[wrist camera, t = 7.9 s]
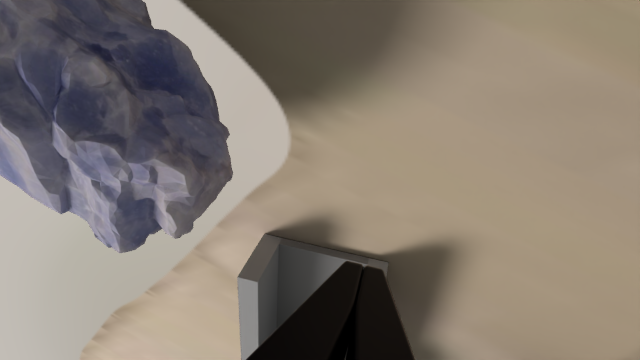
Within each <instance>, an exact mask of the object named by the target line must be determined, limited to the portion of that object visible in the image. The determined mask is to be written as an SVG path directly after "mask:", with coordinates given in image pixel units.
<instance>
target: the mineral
mask: <svg viewBox="0 0 640 360" xmlns="http://www.w3.org/2000/svg"><path fill="white" fill-rule="evenodd" d="M229 135H230V134H229V131H228V129H227V127H225V126H224V125H223V124H222V123H221V122H220V121H219V114H218V107H217V103H216V99H215V96H214V92H213V90H212V88H211V86H210V85H209V84H208V83H207V81H206V80H205V78H204V77H203V75H202V73H201V71H200V68H199V66H198V65H197V63H196V62H195V60H194V59H193V56H192V53H191V51H190V49H189V48H188V46H186V45H185V44H184V43H183V42H182V41H180V40H179V39H178V38H176V37H175V36H173V35H172V34H171V33H169V32H168V31H166V30H159V29H154V28H153V27H152V25H151V20H150V17H149V14H148V11H147V7H146V3H145V2H143V1H142V0H0V175H1V176H2V177H4V178H5V179H7V180H9V181H10V182H12V183H13V184H15V185H17V186H18V187H20V188H21V189H22V190H23V191H24V192H26V193H27V194H28V195H29V196H31V197H32V198H34V199H36V200H37V201H39V202H41V203H42V204H44V205H46V206H47V207H49V208H51V209H53V210H55V211H56V212H58V213H60V214H62V213H65V212H67V211H70V212H72V213H74V214H77V215H78V216H80V217H81V218H83V219H84V220H86V221H87V222H88V224H89V226H90V227H91V229H92V231H93V232H94V235H95V237H96V238H97V239H99V240H100V241H101V242H103V243H104V244H105V245H106V246H107V247H112V248H113V249H115V250H116V251H117V252H118V253H123V252H128V251H132V250H135V249H137V248H138V247H140V246H141V245H143V244H144V243H145V241H146V238H147V237H148V235H149V234H155V233H156V232H158V231H159V230H161V229H163V230H164V231H165V233H166V234H168V235H170V236H172V237H173V238H175V239H176V238H180V237H181V236H182V235H184V234H186V233H189V232H190V231H191V230H192V229H193V222H194V221H195V220H196V219H197V218H199V217H200V216H201V215H202V214H203V213H204V211H205V210H206V209H207V208H208V207H209V205H210V204H211V203H212V202H213V201H214V200H215V199H216V198H217V195H218V194H219V193H220V191H221V190H222V188H223V187H224V186H225V184H226V183H227V182H228V181H230V180H231V178H232V175H233V171H232V168H231V160H230V155H229V152H228V148H227V147H228V146H227V143H226V140H227V138H228V136H229Z"/></svg>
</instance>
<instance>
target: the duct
mask: <svg viewBox="0 0 640 360" xmlns="http://www.w3.org/2000/svg"><path fill="white" fill-rule="evenodd" d="M345 261H351V262H356V263H360V264H362V265H363V267H365V266H366V265H369V266H373V267H377V268H381V269H382V270H383V271H384V273H385V276H386V277H387V270H388V263H389V262H384V261H380V260H376V259H371V258H367V257H363V256H358V255H354V254H349V253H345V252H341V251H336V250H332V249H328V248H323V247H319V246H315V245H310V244H306V243H302V242H297V241H293V240H289V239H284V238H280V237H276V236H271V235H267V234H264V235H263V237H262V238H261V240H260V242H259V243H258V245H257V246H256V248H255V250H254V251H253V253H252V255H251V256H250V258H249V259H248V261H247V263H246V264H245V266H244V267H243V269H242V271H241V272H240V274H239V275H238V277H237V278H238V299H239V321H240V343H241V360H246V359H247V358H248V357H249V356H250V355H251V354H252V353H253V352H254V351H255V350H256V349H257V348H258V347H259V346H260V345H261V344H262V343H263V342H264V341H265V340H266V339H267V338H268V337H269V336H270V335H271V334H272V333H273V332H274V331H275V330H276V329H277V328H278V327H279V326H280V325H281V324H282V323H283V322H284V321H285V320H286V319H287V318H288V317H289V316H290V315H291V314H292V313H293V312H294V311H295V310H296V309H297V308H298V307H299V306H300V305H301V304H302V303H303V302H304V301H305V300H306V299H307V298H308V297H309V296H310V295H311V294H312V293H313V292H314V291H315V290H316V289H317V288H318V287H319V286H320V285H321V284H322V283H324V282H325V281H326V280H327V279H328V278H329V277H330V276H331V275H332V274H333V273H334V272H335V271H336V270H337V269H338V268H339V267H340V266H341V265H342V264H343V263H344V262H345ZM363 269H364V268H363ZM347 349H348V348H347ZM346 354H347V353H346ZM345 360H346V357H345Z"/></svg>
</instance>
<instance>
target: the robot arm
mask: <svg viewBox="0 0 640 360" xmlns="http://www.w3.org/2000/svg"><path fill="white" fill-rule="evenodd" d="M363 268H364V269H363ZM347 348H348V349H347ZM346 353H347V354H346ZM345 357H346V360H415V358H414V355H413V352H412V349H411V346H410V344H409V341H408V338H407V335H406V332H405V329H404V327H403V324H402V321H401V318H400V315H399V313H398V310H397V307H396V304H395V301H394V298H393V296H392V293H391V290H390V287H389V284H388V281H387V279H386V276H385V273H384V271H383V270H382V269H381V268H377V267H373V266H369V265H366V266H365V267H363V265H362V264H360V263H356V262H351V261H345V262H344V263H343V264H342V265H341V266H340V267H339V268H338V269H337V270H336V271H335V272H334V273H333V274H332V275H331V276H330V277H329V278H328V279H327V280H326V281H325V282H324V283H322V284H321V285H320V286H319V287H318V288H317V289H316V290H315V291H314V292H313V293H312V294H311V295H310V296H309V297H308V298H307V299H306V300H305V301H304V302H303V303H302V304H301V305H300V306H299V307H298V308H297V309H296V310H295V311H294V312H293V313H292V314H291V315H290V316H289V317H288V318H287V319H286V320H285V321H284V322H283V323H282V324H281V325H280V326H279V327H278V328H277V329H276V330H275V331H274V332H273V333H272V334H271V335H270V336H269V337H268V338H267V339H266V340H265V341H264V342H263V343H262V344H261V345H260V346H259V347H258V348H257V349H256V350H255V351H254V352H253V353H252V354H251V355H250V356H249V357H248V358H247V359H246V360H345Z"/></svg>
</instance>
